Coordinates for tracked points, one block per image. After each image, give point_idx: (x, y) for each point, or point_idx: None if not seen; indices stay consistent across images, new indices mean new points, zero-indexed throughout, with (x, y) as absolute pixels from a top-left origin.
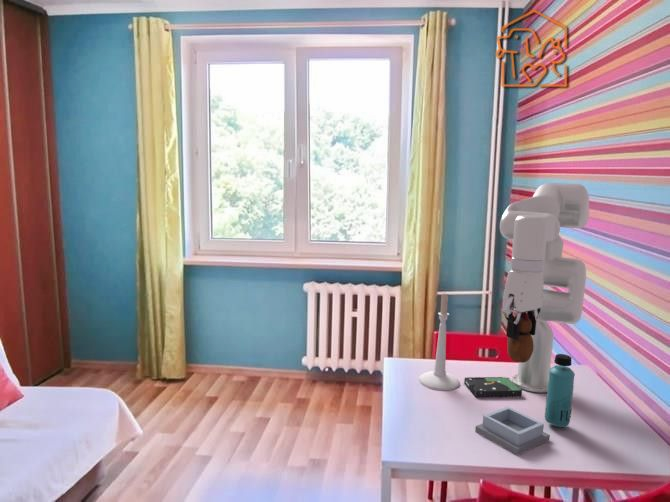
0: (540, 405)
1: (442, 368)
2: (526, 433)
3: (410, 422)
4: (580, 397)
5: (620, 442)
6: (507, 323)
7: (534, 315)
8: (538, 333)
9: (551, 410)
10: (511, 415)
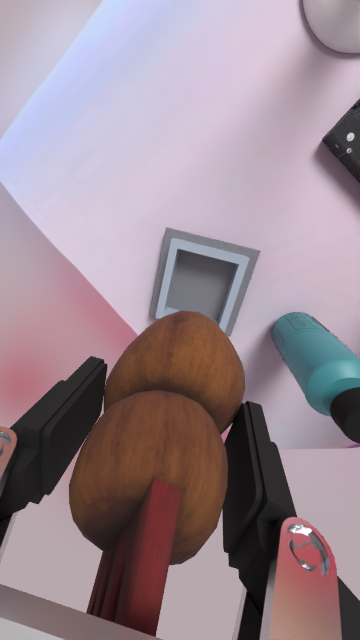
0: None
1: None
2: None
3: (99, 101)
4: None
5: (297, 407)
6: (38, 409)
7: (235, 624)
8: None
9: (280, 336)
10: (235, 271)
